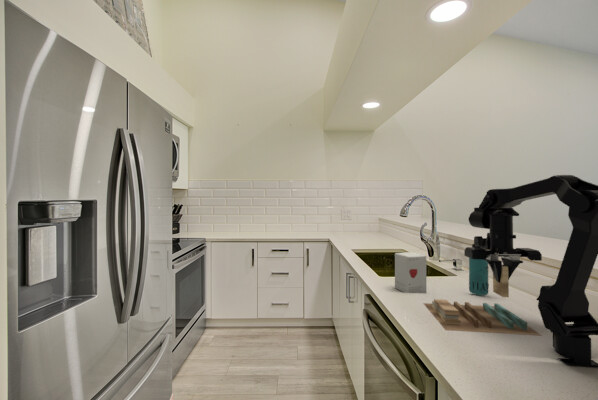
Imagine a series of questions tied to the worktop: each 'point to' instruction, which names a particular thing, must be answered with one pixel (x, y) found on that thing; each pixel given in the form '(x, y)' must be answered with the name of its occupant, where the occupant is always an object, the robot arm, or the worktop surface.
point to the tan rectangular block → (502, 283)
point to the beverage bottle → (478, 276)
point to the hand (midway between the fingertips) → (501, 282)
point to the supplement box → (410, 272)
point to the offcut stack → (446, 311)
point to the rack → (486, 320)
